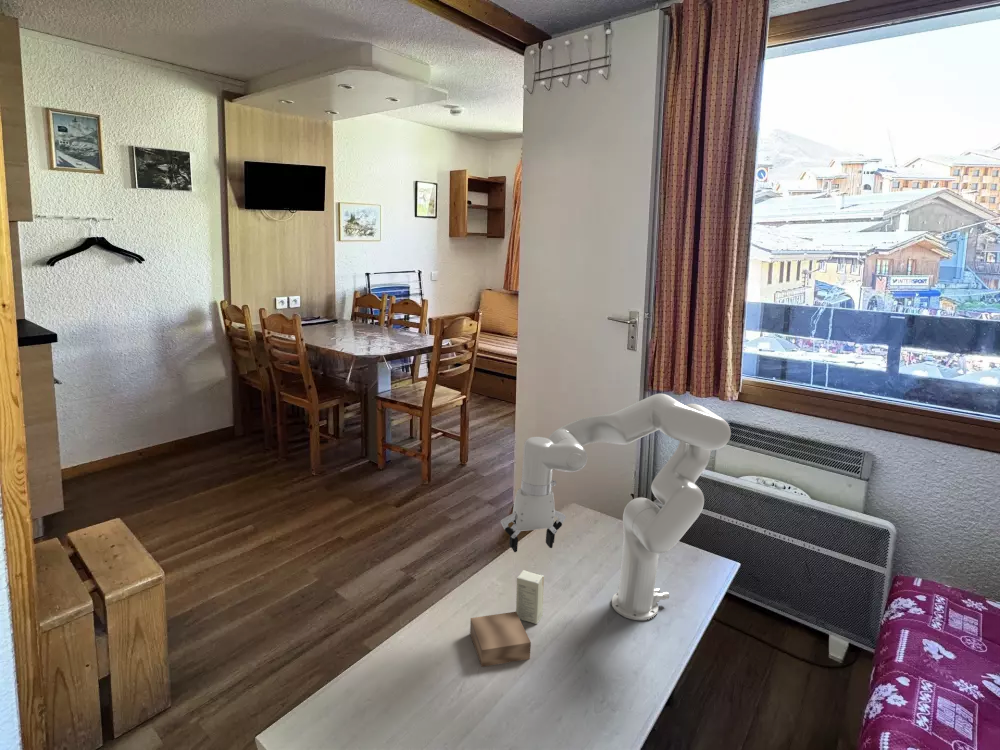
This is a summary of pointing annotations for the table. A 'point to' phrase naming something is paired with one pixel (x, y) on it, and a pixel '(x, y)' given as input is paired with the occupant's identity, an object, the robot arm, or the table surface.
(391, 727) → the table surface
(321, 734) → the table surface
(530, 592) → the skincare box
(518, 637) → the walnut block
